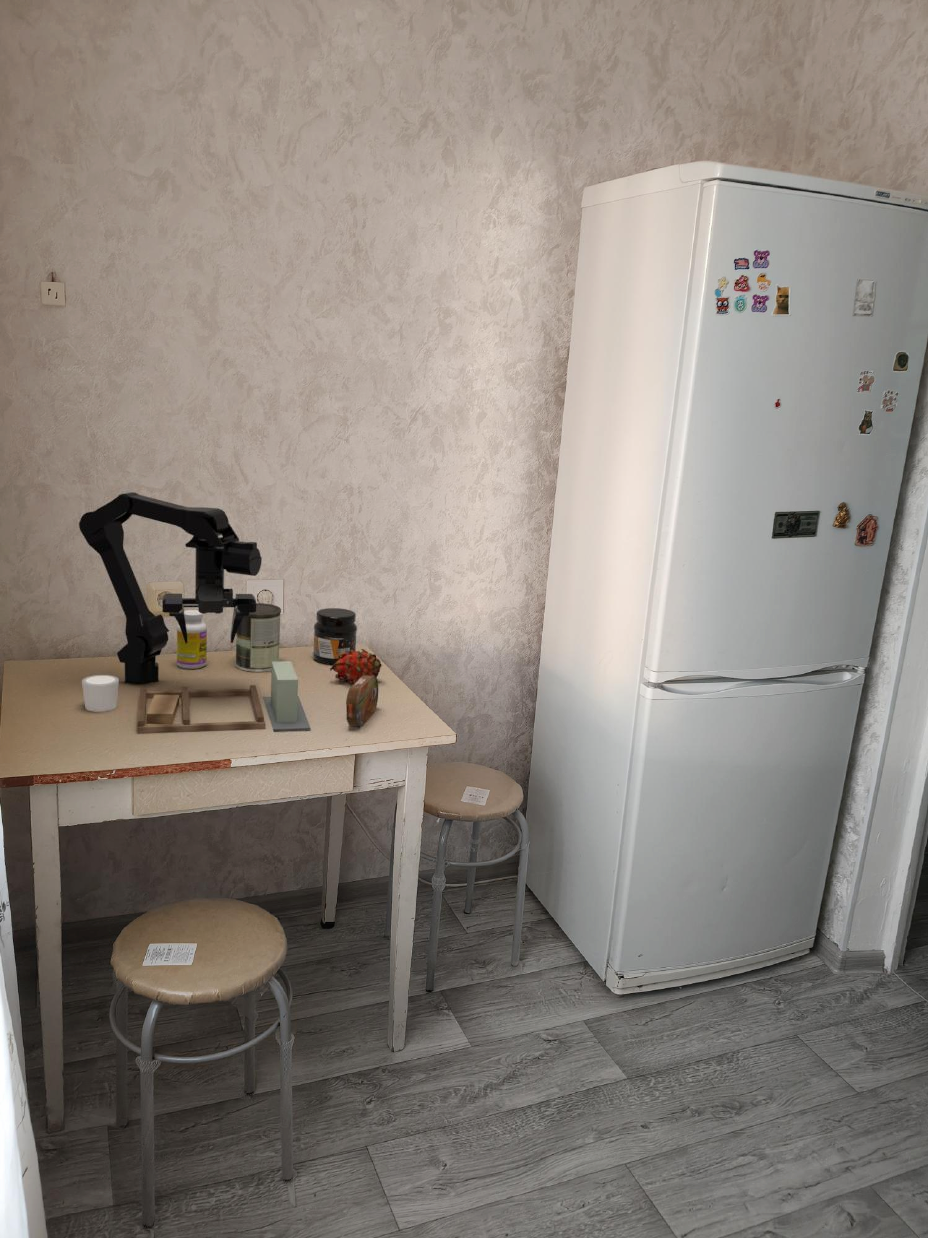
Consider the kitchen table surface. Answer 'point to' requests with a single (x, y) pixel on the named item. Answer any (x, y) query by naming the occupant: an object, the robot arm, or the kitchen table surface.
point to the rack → (186, 725)
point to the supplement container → (334, 634)
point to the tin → (362, 700)
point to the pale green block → (284, 692)
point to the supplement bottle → (192, 642)
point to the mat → (287, 726)
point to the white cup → (100, 692)
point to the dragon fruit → (356, 665)
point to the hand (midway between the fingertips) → (209, 642)
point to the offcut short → (163, 709)
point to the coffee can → (258, 639)
